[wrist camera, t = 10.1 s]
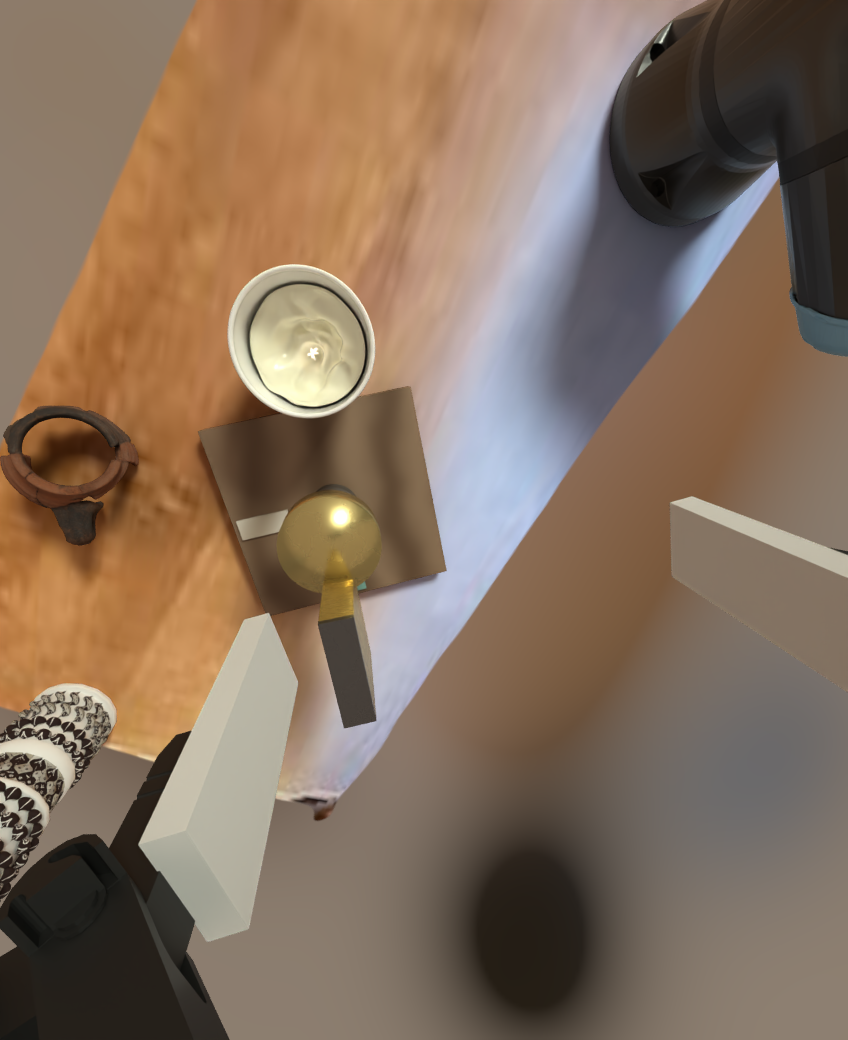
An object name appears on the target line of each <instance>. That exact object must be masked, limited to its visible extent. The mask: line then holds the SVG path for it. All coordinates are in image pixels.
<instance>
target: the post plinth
mask: <svg viewBox="0 0 848 1040" xmlns="http://www.w3.org/2000/svg"><path fill="white" fill-rule="evenodd" d="M198 433H199V436H200V439H201V441H202V444H203V447H204V449H205V452H206V455H207V457H208V460H209V463H210V465H211V468H212V471H213V474H214V476H215V479H216V482H217V484H218V487H219V490H220V492H221V495H222V498H223V500H224V503H225V506H226V508H227V511H228V514H229V516H230V519H231V522H232V525H233V527H234V530H235V533H236V535H237V538H238V541H239V543H240V546H241V549H242V551H243V554H244V557H245V559H246V562H247V565H248V567H249V570H250V573H251V575H252V578H253V581H254V584H255V586H256V589H257V592H258V594H259V597H260V600H261V602H262V605H263V608H264V610H265V613H269V614H270V616H271V615H275V614H279V613H283V612H287V611H291V610H295V609H299V608H303V607H307V606H310V605H314V604H318V603H321V597H322V593H317V592H313V591H310V590H307V589H305V588H303V587H301V586H300V585H298V584H297V583H295V582H294V581H293V580H292V579H291V578H290V577H289V576H288V575H287V574H286V573H285V571H284V570H283V568H282V566H281V564H280V562H279V559H278V555H277V537H278V533H279V530H280V528H281V525H282V523H283V521H284V519H285V517H286V515H287V513H288V511H289V510H290V509H291V508H292V506H293V505H294V504H295V503H296V502H297V501H299V500H300V499H302V498H303V497H305V496H307V495H309V494H311V493H314V492H318V491H322V490H338V491H343V492H347V493H349V494H352V495H354V496H356V497H358V498H359V499H361V500H362V501H363V502H364V503H365V504H366V505H367V506H368V507H369V508H370V509H371V510H372V512H373V513H374V515H375V517H376V519H377V522H378V526H379V530H380V535H381V541H382V551H381V557H380V560H379V563H378V565H377V567H376V569H375V570H374V572H373V573H372V574H371V576H370V577H369V578H368V579H367V580H366V581H365V582H363V583H362V584H360V585H359V586H357V589H358V593H362V592H366V591H369V590H373V589H377V588H381V587H385V586H389V585H393V584H397V583H401V582H405V581H409V580H413V579H417V578H421V577H424V576H428V575H432V574H436V573H440V572H444V571H446V566H445V560H444V555H443V550H442V545H441V540H440V535H439V530H438V525H437V520H436V514H435V509H434V504H433V499H432V494H431V489H430V484H429V479H428V474H427V468H426V463H425V458H424V453H423V448H422V443H421V438H420V433H419V428H418V422H417V417H416V412H415V407H414V402H413V397H412V392H411V387H409V386H407V387H402V388H397V389H393V390H388V391H383V392H378V393H374V394H369V395H364V396H359V397H357V398H356V399H355V400H354V401H353V402H352V403H351V404H350V405H348V406H347V407H345V408H344V409H342V410H340V411H338V412H336V413H334V414H331V415H328V416H325V417H320V418H297V417H292V416H288V415H285V414H282V413H279V414H274V415H269V416H265V417H260V418H255V419H250V420H246V421H241V422H236V423H231V424H227V425H222V426H217V427H213V428H208V429H204V430H201V431H198Z"/></svg>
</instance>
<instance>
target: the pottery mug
mask: <svg viewBox="0 0 848 1040" xmlns="http://www.w3.org/2000/svg"><path fill="white" fill-rule="evenodd" d="M52 418H71V419H76V420H80V421H83V422H85V423H87V424H89V425H91V426H92V427H94V428H95V429H97V430H98V431H99V432H100V433H101V434H102V435H103V436H104V437H105V439H106V440H107V442H108V444H109V446H110V447H115V453H116V458H115V460H111V461H110V463H109V466H108V468H107V469H106V471H105V472H104V473H103V474H102V475H101V476H100V477H98V478H97V479H95V480H94V481H92V482H89V483H86V484H82V485H80V486H65V485H58V484H54V483H51V482H49V481H47V480H44V479H43V478H41V477H39V476H38V475H37V474H35V473H34V472H33V471H32V468H31V458H30V456H27V455H23V453H22V443H23V439H24V437H25V435H26V434H27V432H28V431H29V430H30V429H31V428H32V427H33V426H34V425H36V424H37V423H39V422H42V421H45V420H48V419H52ZM3 437H4V438H5V441H6V443H7V445H8V452H9V453H10V455H8V456H1V457H0V461H1V467H2V470H3V473H4V475H5V477H6V478H7V480H8V481H9V482H10V484H11V485H12V486H13V487H14V488H15V489H16V490H17V491H18V492H19V493H20V494H22V495H24V496H25V497H26V498H27V499H29V500H30V501H32V502H34V503H36V504H38V505H41V506H43V507H46V508H47V507H48V508H51V509H52V511H53V512H54V514H55V516H56V518H57V521H58V523H59V526H60V527H61V529H62V530H63V532H64V534H65V537H66V541H67V542H69V543H72V544H74V545H87V544H89V543H91V541H92V540H94V538H95V536H96V531H95V530H96V529H95V519H96V515H97V513H98V512H99V510H100V509H101V508H103V505H104V504H103V503H102V502H101V501H100V502H95V503H94V502H92V501H87V500H86V501H81V500H83V499H84V498H86V497H88V496H90V497H92V498H94V499H98V498H100V497H101V496H103V495H104V494H106V493H107V492H108V491H109V490H111V489H112V488H113V487H114V486H115V485H116V484H117V483H118V481H119V480H120V479H121V478H122V477H123V476H124V474H125V472H126V470H127V468H128V463H132V464H133V465H134V466H136V465H137V464H138V463H139V459H138V454H137V450H136V448H135V446H134V444H131V443H130V442H131V440H130V438H129V436H128V435H126V434H125V433H124V432H123V431H122V430H121V429H120V428H119V427H118V426H116V425H115V424H114V423H113V422H111V421H110V420H108V419H107V418H105V417H103V416H101V415H99V414H97V413H95V412H93V411H90V410H89V411H84V410H82V409H81V408H79V407H73V406H41V407H38V408H37V409H35V411H34V412H33V413H30V414H28V415H26V416H25V417H24V418H22V419H20V420H17V421H16V422H15V423H14V424H13V425H10V426H8V427H7V429H6V431H5V432H4V435H3Z"/></svg>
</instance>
